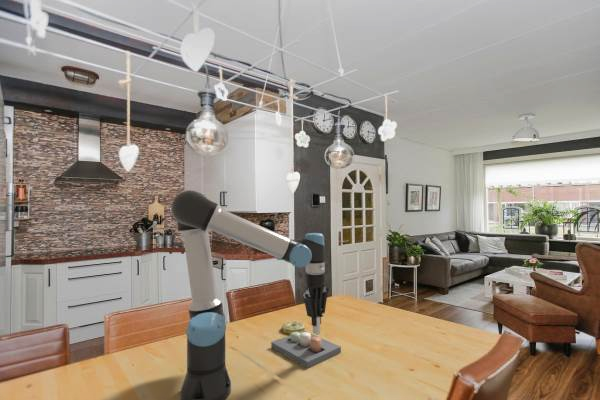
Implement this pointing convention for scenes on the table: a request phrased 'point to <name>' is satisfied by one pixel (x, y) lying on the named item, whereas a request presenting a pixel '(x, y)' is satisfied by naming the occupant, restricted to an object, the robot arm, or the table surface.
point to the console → (305, 351)
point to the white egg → (305, 339)
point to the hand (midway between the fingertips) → (316, 333)
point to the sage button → (295, 337)
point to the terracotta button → (315, 344)
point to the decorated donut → (292, 327)
